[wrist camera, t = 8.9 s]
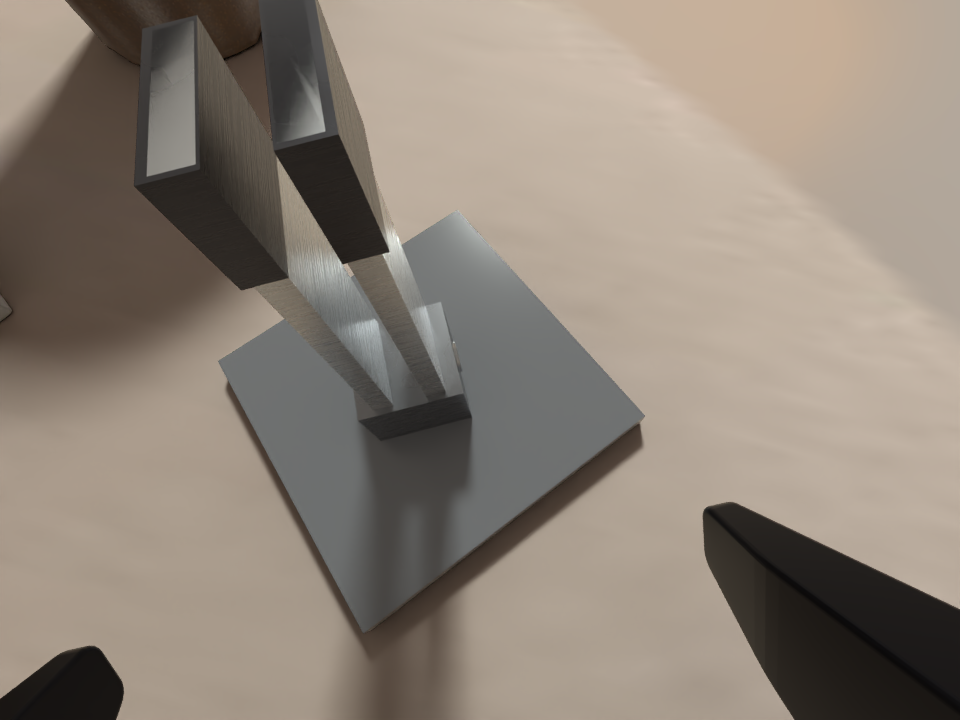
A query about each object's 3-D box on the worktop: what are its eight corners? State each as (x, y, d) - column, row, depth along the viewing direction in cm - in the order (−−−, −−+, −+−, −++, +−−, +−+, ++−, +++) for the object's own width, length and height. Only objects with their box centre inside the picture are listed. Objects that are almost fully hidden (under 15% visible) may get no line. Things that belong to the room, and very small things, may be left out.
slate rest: (640, 422, 17) (645, 416, 16) (371, 630, 15) (363, 633, 15) (459, 222, 21) (457, 209, 20) (229, 369, 19) (217, 361, 19)
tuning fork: (475, 416, 17) (376, 130, 6) (378, 441, 17) (95, 201, 6) (454, 334, 18) (341, -26, 7) (364, 358, 18) (111, 31, 7)
